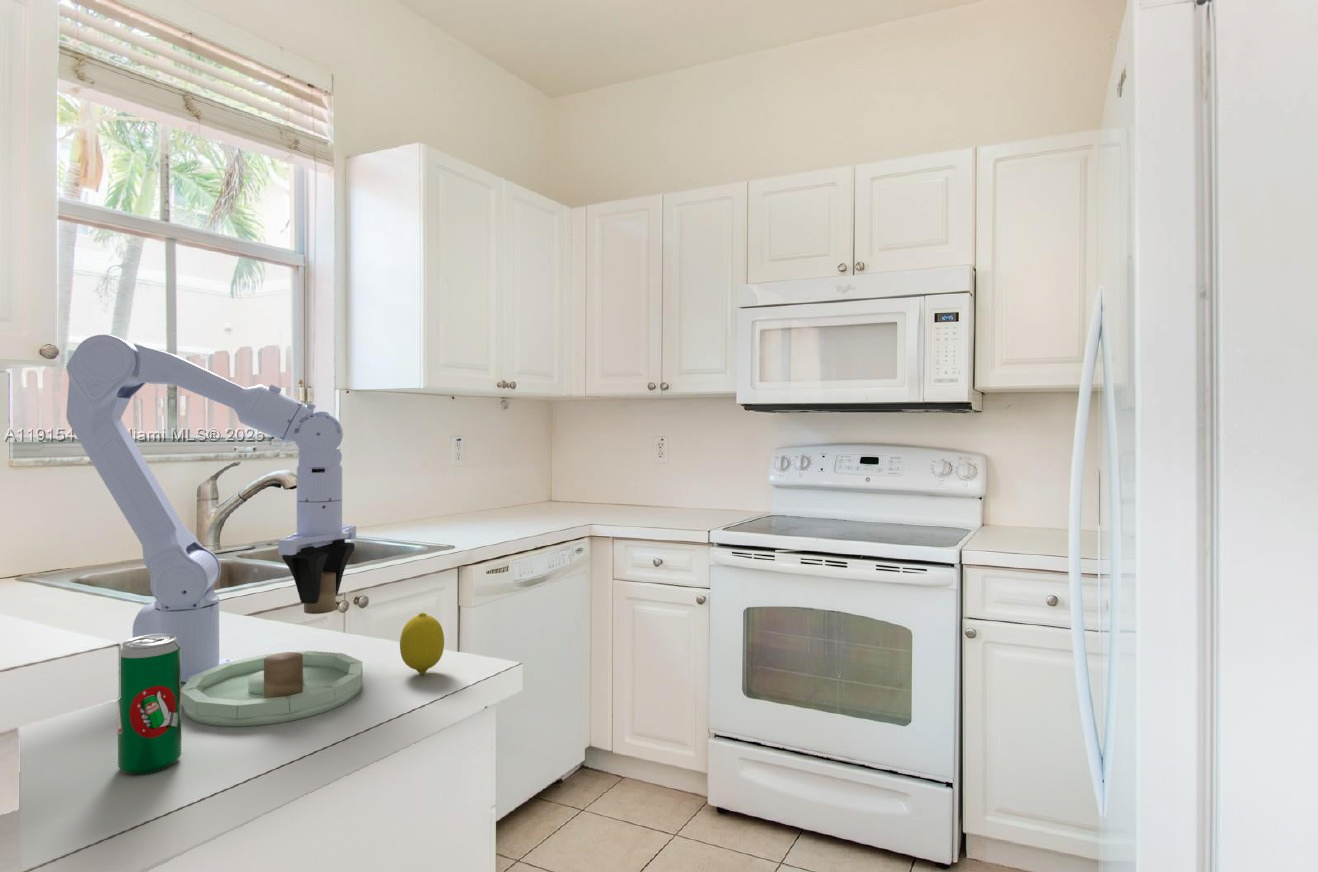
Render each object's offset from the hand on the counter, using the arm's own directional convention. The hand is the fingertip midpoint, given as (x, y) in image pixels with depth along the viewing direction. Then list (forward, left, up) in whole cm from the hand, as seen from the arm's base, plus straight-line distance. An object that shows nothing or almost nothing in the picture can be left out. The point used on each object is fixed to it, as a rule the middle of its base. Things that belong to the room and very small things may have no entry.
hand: (319, 599), depth 106 cm
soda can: (+5, -32, -9) cm, 34 cm away
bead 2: (0, 0, -2) cm, 2 cm away
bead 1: (+8, -17, -7) cm, 20 cm away
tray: (+4, -13, -8) cm, 16 cm away
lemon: (+17, -2, -9) cm, 19 cm away
